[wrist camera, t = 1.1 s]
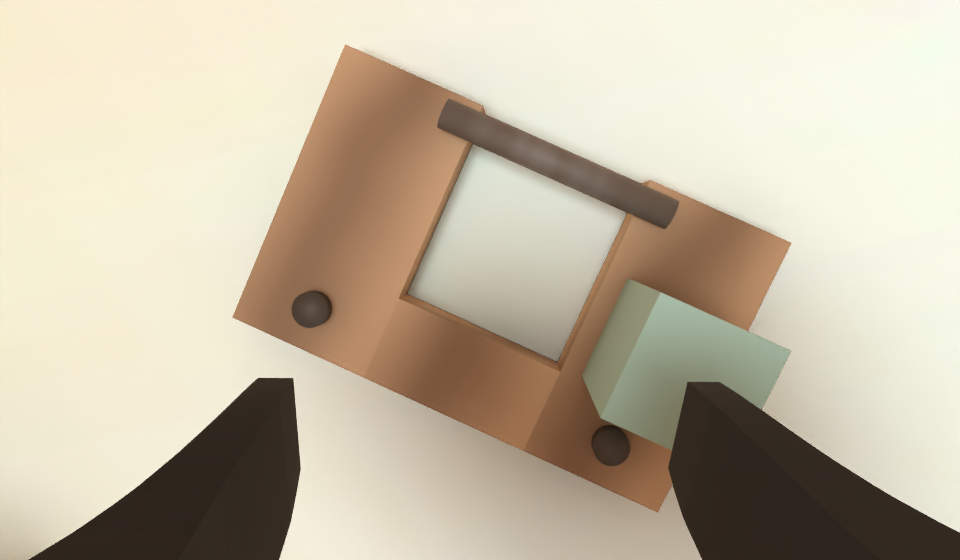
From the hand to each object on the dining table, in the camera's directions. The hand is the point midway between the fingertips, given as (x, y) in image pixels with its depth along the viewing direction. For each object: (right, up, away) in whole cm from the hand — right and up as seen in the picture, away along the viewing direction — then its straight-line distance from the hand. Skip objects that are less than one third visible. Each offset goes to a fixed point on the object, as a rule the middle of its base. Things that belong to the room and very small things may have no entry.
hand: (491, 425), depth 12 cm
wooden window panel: (+1, +3, +11) cm, 12 cm away
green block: (+6, 0, +10) cm, 11 cm away
